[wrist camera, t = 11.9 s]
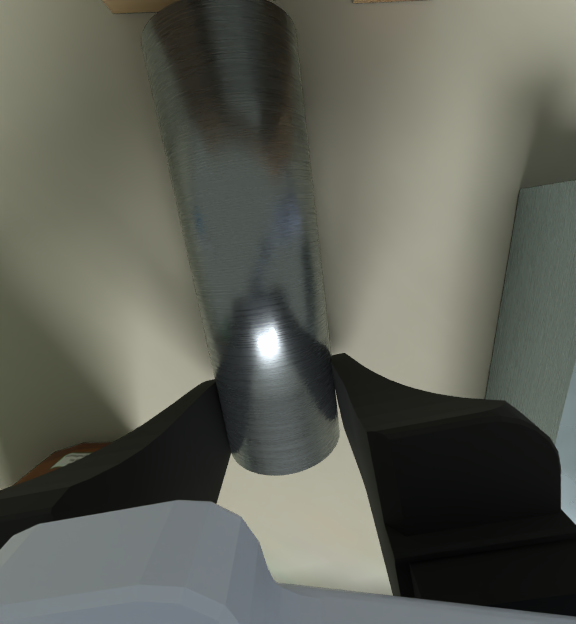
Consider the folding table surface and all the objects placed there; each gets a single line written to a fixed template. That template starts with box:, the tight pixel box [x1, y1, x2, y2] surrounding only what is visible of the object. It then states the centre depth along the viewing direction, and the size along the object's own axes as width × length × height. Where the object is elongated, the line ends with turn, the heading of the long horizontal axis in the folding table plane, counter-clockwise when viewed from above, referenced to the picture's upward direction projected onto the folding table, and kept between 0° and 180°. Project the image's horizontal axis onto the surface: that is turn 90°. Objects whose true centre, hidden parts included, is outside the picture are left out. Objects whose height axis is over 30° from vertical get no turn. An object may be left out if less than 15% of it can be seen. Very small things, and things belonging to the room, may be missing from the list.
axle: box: [141, 0, 340, 476], centre depth 10 cm, size 4×12×4 cm, turn 8°
